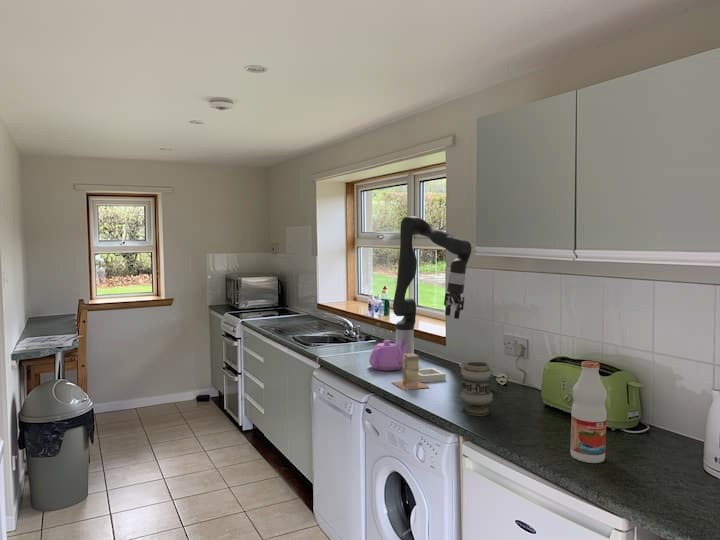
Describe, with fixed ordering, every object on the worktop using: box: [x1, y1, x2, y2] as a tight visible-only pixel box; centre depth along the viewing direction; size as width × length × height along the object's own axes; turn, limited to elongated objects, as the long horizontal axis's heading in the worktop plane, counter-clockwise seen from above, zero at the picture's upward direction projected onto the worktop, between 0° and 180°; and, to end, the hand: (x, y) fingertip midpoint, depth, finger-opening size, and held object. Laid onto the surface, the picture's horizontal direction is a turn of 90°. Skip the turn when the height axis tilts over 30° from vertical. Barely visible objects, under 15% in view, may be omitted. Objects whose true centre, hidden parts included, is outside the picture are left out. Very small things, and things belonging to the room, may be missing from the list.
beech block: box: [402, 352, 420, 386], centre depth 234 cm, size 5×5×13 cm
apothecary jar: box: [459, 360, 494, 417], centre depth 199 cm, size 12×12×18 cm
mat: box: [391, 380, 430, 391], centre depth 234 cm, size 12×12×1 cm
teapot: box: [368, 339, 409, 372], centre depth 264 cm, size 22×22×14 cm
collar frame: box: [418, 367, 447, 383], centre depth 247 cm, size 12×12×3 cm
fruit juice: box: [570, 360, 608, 464], centre depth 157 cm, size 9×9×28 cm
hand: (451, 317), depth 252 cm, fingers open, 8 cm apart
